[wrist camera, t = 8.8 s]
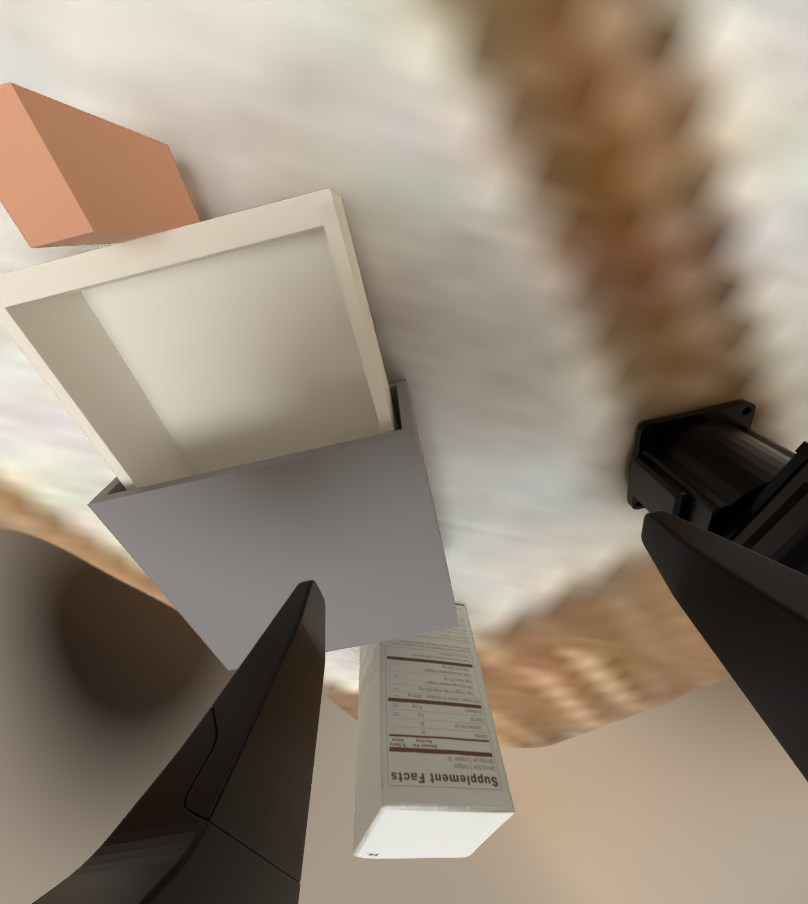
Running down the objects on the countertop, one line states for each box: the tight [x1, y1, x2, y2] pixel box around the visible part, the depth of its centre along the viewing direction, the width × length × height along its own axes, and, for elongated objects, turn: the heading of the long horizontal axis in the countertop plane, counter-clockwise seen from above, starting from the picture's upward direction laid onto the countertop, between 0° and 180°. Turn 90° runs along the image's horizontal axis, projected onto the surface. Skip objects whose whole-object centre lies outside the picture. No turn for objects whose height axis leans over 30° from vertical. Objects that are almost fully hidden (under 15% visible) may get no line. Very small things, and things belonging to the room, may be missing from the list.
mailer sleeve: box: [88, 380, 460, 670], centre depth 21 cm, size 14×13×6 cm
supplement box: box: [353, 604, 515, 858], centre depth 26 cm, size 7×7×13 cm
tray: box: [0, 82, 400, 490], centre depth 15 cm, size 12×15×8 cm
